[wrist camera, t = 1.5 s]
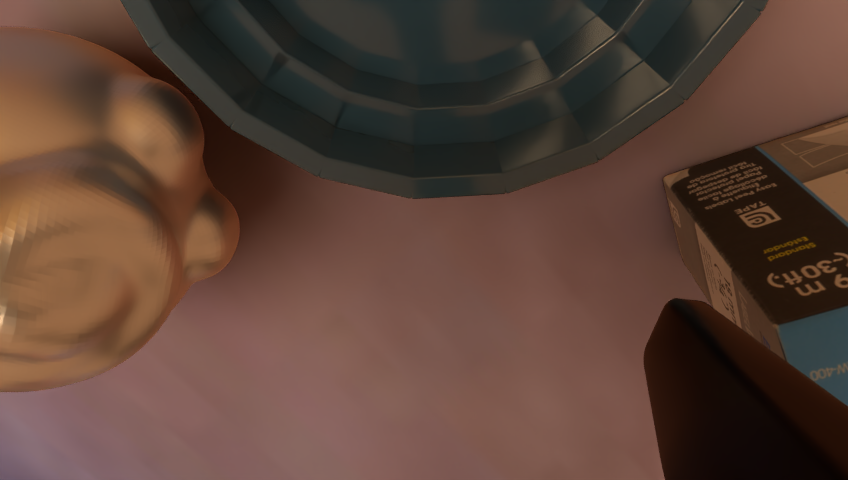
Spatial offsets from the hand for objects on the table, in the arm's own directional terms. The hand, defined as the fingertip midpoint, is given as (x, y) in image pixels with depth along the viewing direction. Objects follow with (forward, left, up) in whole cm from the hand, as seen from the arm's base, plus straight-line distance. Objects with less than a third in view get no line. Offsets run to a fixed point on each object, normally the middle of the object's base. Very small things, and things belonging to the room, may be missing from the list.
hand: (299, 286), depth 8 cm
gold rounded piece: (+2, +9, -14) cm, 16 cm away
